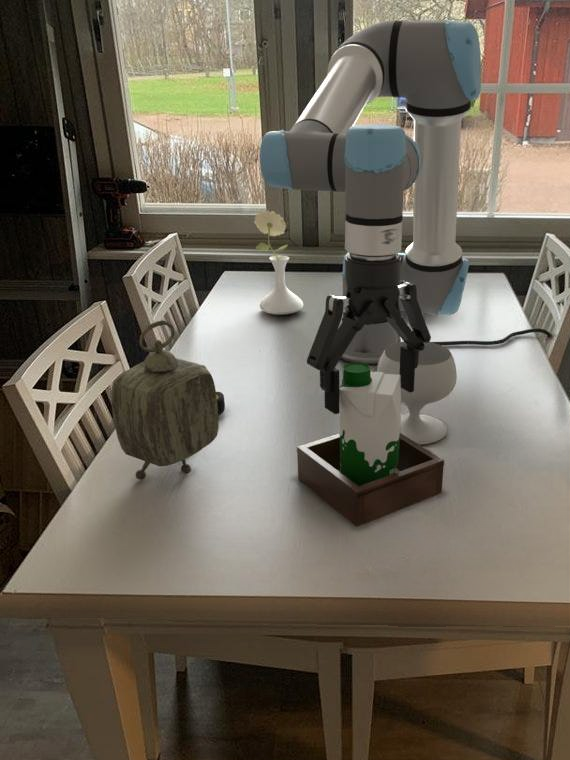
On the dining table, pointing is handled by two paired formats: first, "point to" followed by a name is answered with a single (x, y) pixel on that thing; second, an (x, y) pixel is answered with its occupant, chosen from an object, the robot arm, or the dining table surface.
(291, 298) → the flower in vase
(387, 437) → the soya milk
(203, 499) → the dining table surface
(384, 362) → the chalice
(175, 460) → the tabletop clock
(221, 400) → the tape measure
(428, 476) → the crate
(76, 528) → the dining table surface
